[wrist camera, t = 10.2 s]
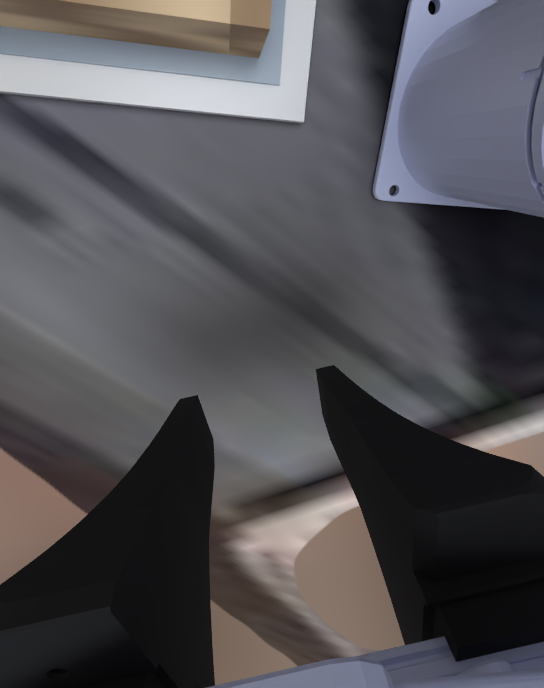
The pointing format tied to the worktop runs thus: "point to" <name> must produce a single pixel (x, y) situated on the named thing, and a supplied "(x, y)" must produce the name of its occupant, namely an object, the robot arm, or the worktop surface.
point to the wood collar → (151, 22)
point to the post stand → (168, 70)
